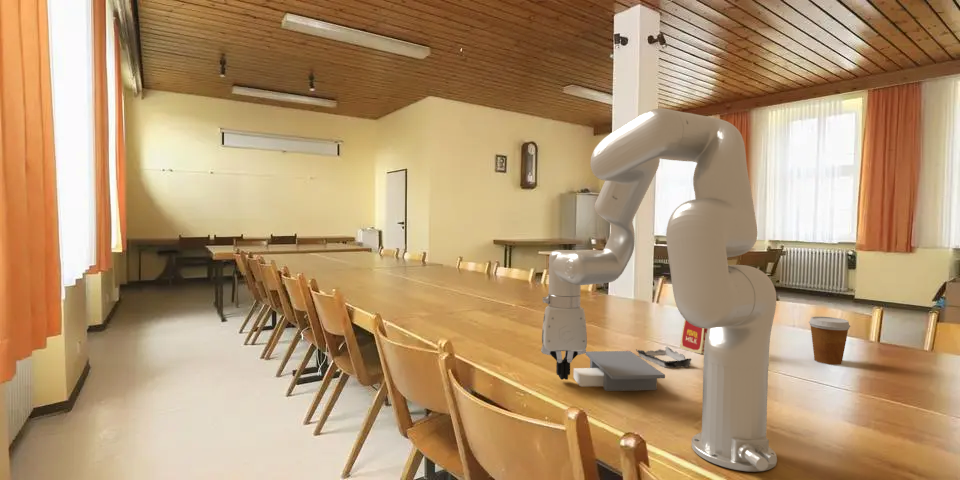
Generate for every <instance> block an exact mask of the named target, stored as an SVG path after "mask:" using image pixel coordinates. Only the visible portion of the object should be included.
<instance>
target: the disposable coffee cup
mask: <svg viewBox="0 0 960 480" xmlns="http://www.w3.org/2000/svg"><path fill="white" fill-rule="evenodd" d="M808 324H809V326H810V333H811V342H812V349H813V350H812V351H813V359H814V361H815V362H818V363H821V364H825V365H831V366H832V365H833V366H837V365H838V366H839V365H842V364H843V359H844V353H845V348H846V343H847V338H848V333H849V330H850V329H851V325H850V322H849V320H847V319H843V318H838V317H832V316H811V317H810V319H809V321H808Z"/></svg>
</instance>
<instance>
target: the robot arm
mask: <svg viewBox="0 0 960 480" xmlns="http://www.w3.org/2000/svg"><path fill="white" fill-rule="evenodd" d="M746 154H747V153H746V144H745V141H744V139H743V136H742V133H741V131H740V130H739V129H738V128H737V127H736V126H735V125H734V124H732V123H731V122H729V121H727V120H724V119H721V118H716V117H711V116H706V115H701V114H696V113H691V112H684V111H679V110H674V109H670V108H669V109H668V108H654V109H650V110H647V111H645V112H642V113H641V114H640V115H638V116H636V117H634V118H633V119H631V120H630V121H628V122H626V123H624V124H623V125H622V126H620V127H618V128H617V129H615V130H614V131H612V132H610V133H608V134H607V135H606V136H605V137H603V139H601V140H600V141H599V143H597V145H596V146H595V147H594V149H593V151H592V154H591V156H590V170H591V173H592V174H593V176H594V177H596V178H597V179H598V180H601V181H604V183H603V185H602V187H601V190H600V191H599V194H598V196H597V198H596V201H595V203H594V210H595V212H596V214H597V215H598V216H599V217H601V219H603V220H604V221H606V222H608V223H609V224H610V234H609V237H608V239H607V241H606V244H605V246H604V248H603V250H585V251H583V250H582V251H577V250H573V249H570V250H569V249H556V250H552V251H551V252H550V253H549V257H548V293H547V295H546V296H542V299H541V300H542V303H543V304H547V306H546V307H545V308H544V313H543V320H542V328H541V329H542V330H541V344H542V346H541V349H540V352H541V353H542V355H543V354H544V355H546V356H551V357H552V358H553V359H554V360H555V361H556V363H555V364H556V365H555V366H556V372H555V373H556V376H558V378H559V379H560V380H567V381H568V380H569V379H568V378H569V376H570V375H571V363H572V362H573V360H574V359H576V357H577V356H579V355H583V354H586V352H587V346H588V345H587V344H588V335H587V333H588V332H587V321H586V312H585V308H583V307H582V306H581V289H582V288H581V287H582V286H586V285H596V284H598V285H599V284H607V283H608V284H609V283H612V282H615V281H616V280H618V279H619V278H620V277H621V275H622V274H623V273H624V271H625V270H626V268H627V266H628V264H629V262H630V261H631V258H632V256H633V254H634V251H635V250H634V249H635V242H636V240H635V237H636V234H635V228H634V224H633V223H634V222H633V221H634V219H635V216H636V214H637V212H638V210H639V207H640V205H641V204H642V202H643V200H644V198H645V195H646V194H647V192H648V189H649V187H650V185H651V183H652V182H653V180H654V177H655V175H656V173H657V171H658V169H659V166H660V160H667V161H677V162H678V161H679V162H692V163H696V166H695V168H694V173H693V178H692V182H693V183H692V184H693V190H694V198H695V199H690V200H687V201H685V202H683V203H681V204H679V206H677V207H676V208H675V209H674V210H673V212H672V213H671V214H670V217H669V219H668V222H667V227H666V233H665V235H666V236H665V238H666V240H665V241H666V249H667V254H668V264H669V271H670V280H671V286H672V293H673V298H674V301H675V305H676V307H677V309H678V312H679V313H680V315H681V316H682V318H683V319H684V321H685V320H686V321H687V322H689V323H690V324H692V325H694V326H696V327H699V328H705V329H708V330H707V333H706V338H705V345H704V354H703V368H702V369H703V370H702V407H701V410H702V411H701V412H702V413H701V416H702V417H701V431H700V432H698V433H696V434H694V435H693V436H692V437H691V448H692V450H693V451H694V453H696V454H697V455H698V456H699V457H700V458H702V459H703V460H705V461H707V462H709V463H711V464H713V465H717V466H720V467H722V468H726V469H729V470H730V469H731V470H735V471H741V472H752V473H753V472H754V473H756V472H765V471H768V470H771V469H773V468H774V467H776V466H777V462H778V458H777V457H778V456H777V454H776V452H775V451H774V450H773V448H771V447H770V445H769V442H770V440H769V438H767V421H768V419H767V417H768V391H769V390H768V388H769V363H770V360H769V359H770V342H771V334H772V333H771V332H772V327H773V324H774V323H773V322H774V318H775V313H776V309H777V308H776V307H777V292H776V288H775V286H774V283H773V282H772V280H771V279H770V278H769V276H768V275H767V274H766V273H765V272H764V271H762V270H761V269H758V268H757V267H754V266H751V265H747V264H744V265H743V264H729V263H728V258H730V257H731V258H732V257H737V256H741V255H744V254H746V253H748V252H749V251H751V250H752V249H753V247H754V246H755V244H756V242H757V240H758V226H757V219H756V218H757V217H756V212H755V207H754V206H755V205H754V200H753V199H754V198H753V194H752V187H751V182H750V178H749V177H750V176H749V172H748V163H747V162H748V161H747V155H746ZM562 352H564V357H563V355H562Z"/></svg>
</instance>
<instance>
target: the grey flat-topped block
mask: <svg viewBox="0 0 960 480" xmlns="http://www.w3.org/2000/svg"><path fill="white" fill-rule="evenodd" d="M585 355H586V357H588V358H589V360H590V361H589V368H601V369H602V370H603V371H604V386H603V390H604V391H606V392H613V391H614V392H615V391H617V392H618V391H619V392H621V391H625V392H626V391H657V389H658V387H657V385H658V384H657V383H658V382H657V381H658V379H665V378H666V374H664V373H663V372H661V370H659V369H658V368H656V367H654V366H653V365H652V364H650V363H648V362H647V360H645V359H644V358H642V357H640V356H638V355H636V354H635V353H634V352H632V351H631V350H615V351H614V350H611V351H610V350H609V351H606V350H602V351H599V350H598V351H586V353H585Z"/></svg>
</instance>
